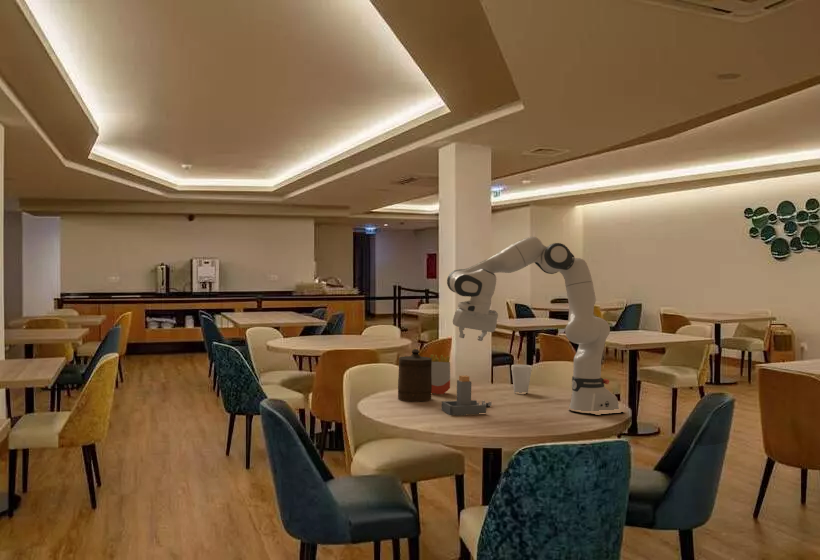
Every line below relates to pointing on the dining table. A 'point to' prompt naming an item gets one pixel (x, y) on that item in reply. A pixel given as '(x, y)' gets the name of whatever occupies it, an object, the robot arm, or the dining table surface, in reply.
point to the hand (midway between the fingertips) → (470, 339)
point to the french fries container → (440, 374)
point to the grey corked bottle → (463, 391)
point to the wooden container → (414, 378)
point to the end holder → (462, 408)
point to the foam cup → (521, 377)
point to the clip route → (486, 403)
